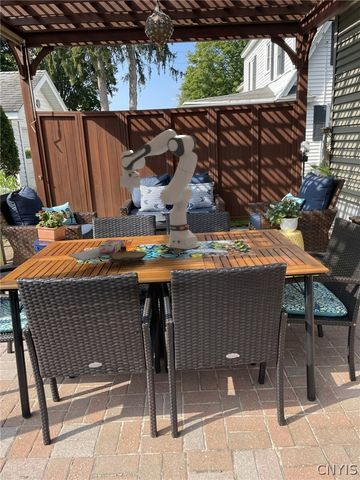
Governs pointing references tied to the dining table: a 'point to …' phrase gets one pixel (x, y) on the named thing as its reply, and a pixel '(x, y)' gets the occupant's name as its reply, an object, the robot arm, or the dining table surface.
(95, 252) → the grey mat
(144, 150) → the robot arm
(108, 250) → the candy bar box
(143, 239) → the dining table surface
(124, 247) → the oil lamp
